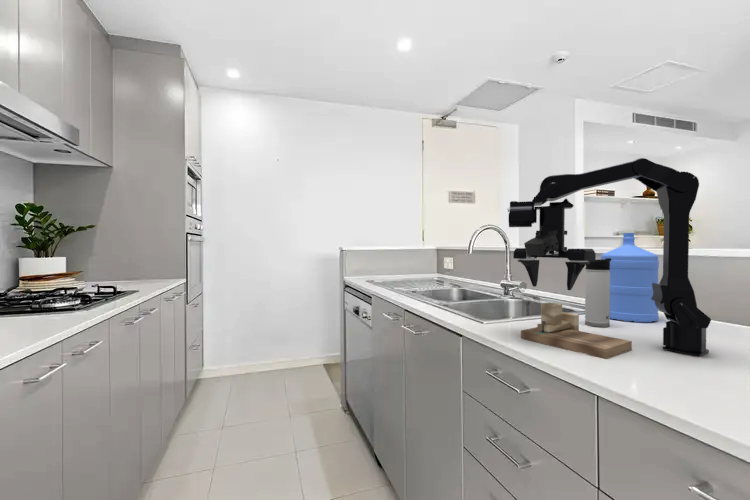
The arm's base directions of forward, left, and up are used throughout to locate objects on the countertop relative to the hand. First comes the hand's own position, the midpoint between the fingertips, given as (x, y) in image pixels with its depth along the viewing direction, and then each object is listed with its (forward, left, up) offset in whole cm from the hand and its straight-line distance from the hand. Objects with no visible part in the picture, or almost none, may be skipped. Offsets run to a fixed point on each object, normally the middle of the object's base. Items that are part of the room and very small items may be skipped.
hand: (551, 288), depth 91 cm
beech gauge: (0, -2, -12) cm, 12 cm away
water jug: (+1, -47, -13) cm, 49 cm away
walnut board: (-6, 0, -13) cm, 14 cm away
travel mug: (+1, -27, -13) cm, 30 cm away
